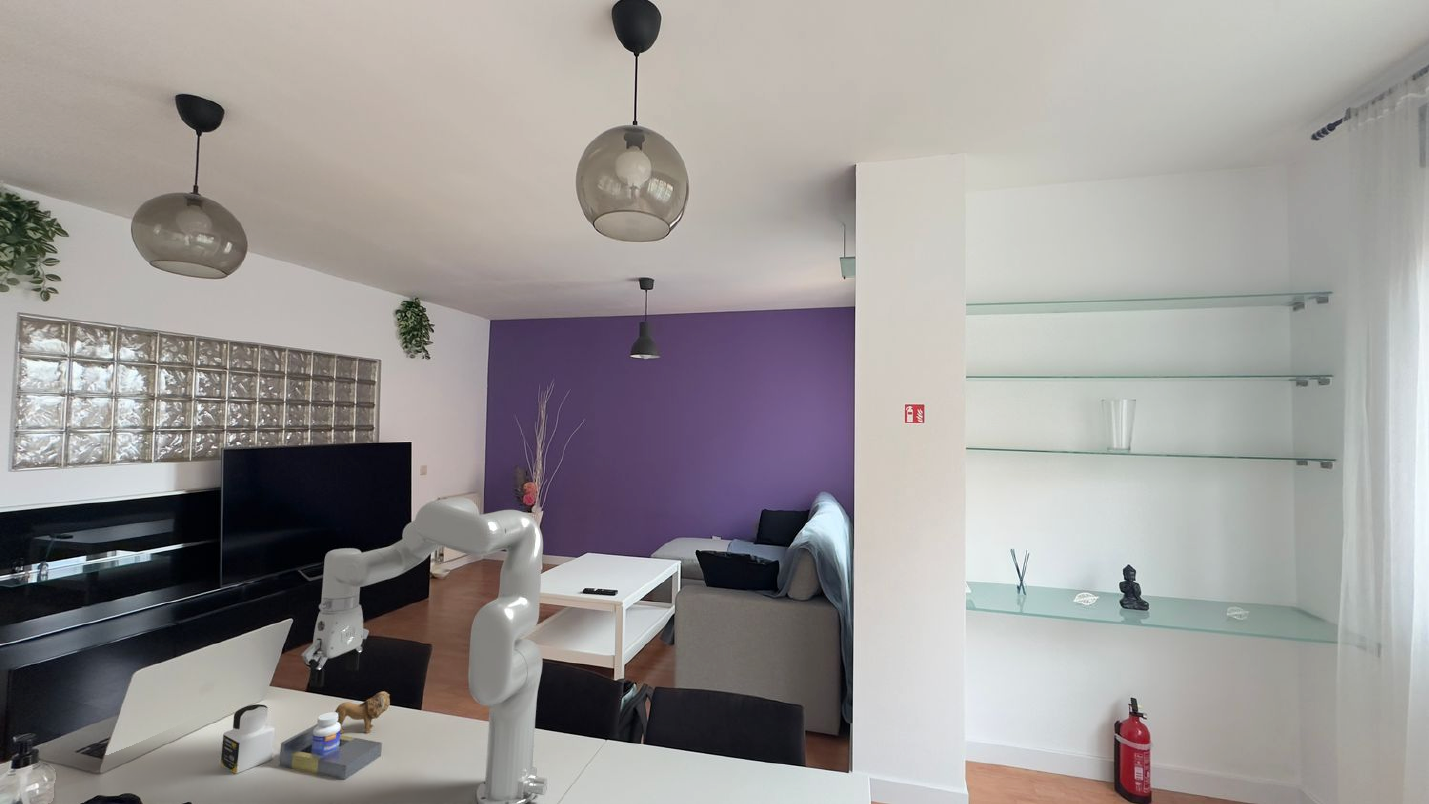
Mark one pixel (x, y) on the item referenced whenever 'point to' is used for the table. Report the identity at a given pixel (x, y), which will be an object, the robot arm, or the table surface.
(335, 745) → the pill bottle
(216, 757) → the table surface
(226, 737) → the medicine bottle
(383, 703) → the lion figurine
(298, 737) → the grey and tan frame
